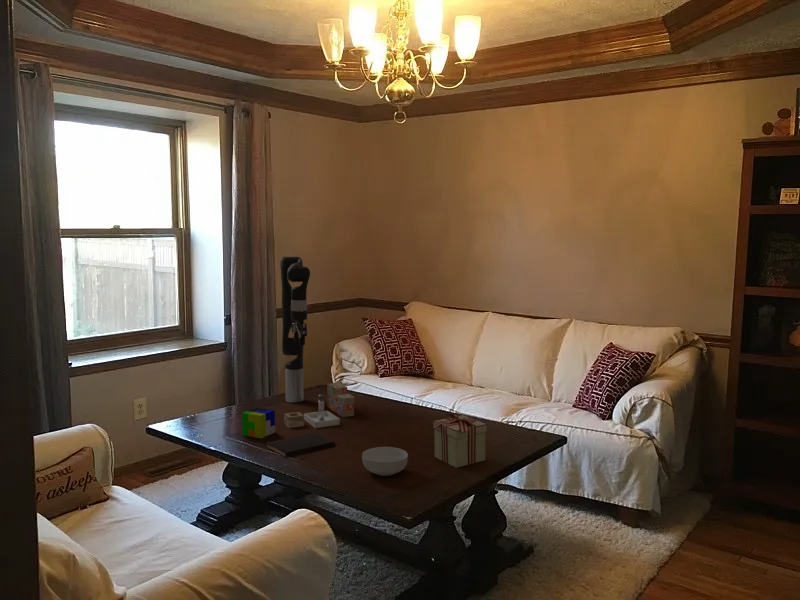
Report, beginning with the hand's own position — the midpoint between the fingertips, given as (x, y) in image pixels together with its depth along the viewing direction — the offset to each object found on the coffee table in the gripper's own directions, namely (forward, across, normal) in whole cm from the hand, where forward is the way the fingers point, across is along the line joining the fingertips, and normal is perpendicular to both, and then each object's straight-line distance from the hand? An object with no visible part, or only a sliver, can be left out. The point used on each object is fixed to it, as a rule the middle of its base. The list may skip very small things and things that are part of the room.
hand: (299, 343), depth 315 cm
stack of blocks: (+36, -2, +22) cm, 42 cm away
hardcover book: (+36, +41, -14) cm, 56 cm away
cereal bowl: (+35, +83, +4) cm, 90 cm away
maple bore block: (+36, +10, -6) cm, 38 cm away
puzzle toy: (+36, +16, -24) cm, 46 cm away
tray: (+36, +11, +6) cm, 38 cm away
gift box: (+35, +84, +35) cm, 98 cm away
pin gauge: (+35, +11, +6) cm, 37 cm away
